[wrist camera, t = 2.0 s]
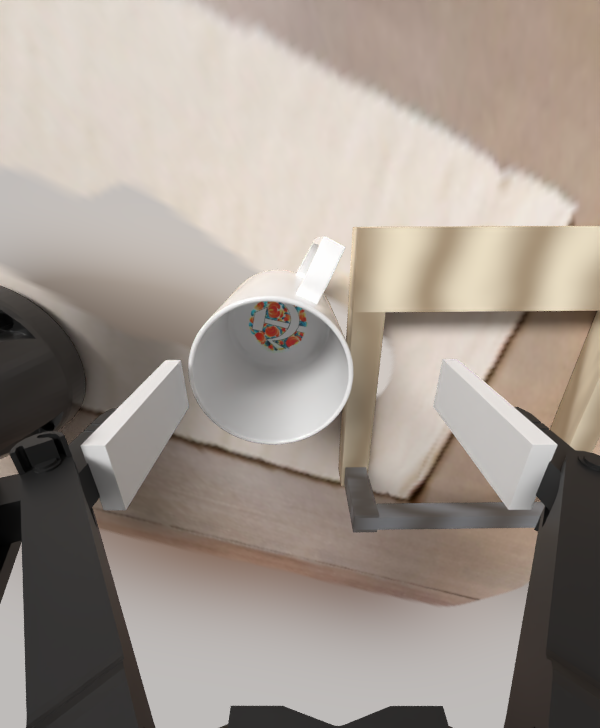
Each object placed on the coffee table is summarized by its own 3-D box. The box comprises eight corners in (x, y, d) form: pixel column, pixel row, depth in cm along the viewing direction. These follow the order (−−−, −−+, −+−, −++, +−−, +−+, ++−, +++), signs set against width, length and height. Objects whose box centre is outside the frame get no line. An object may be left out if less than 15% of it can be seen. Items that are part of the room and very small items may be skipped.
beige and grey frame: (338, 468, 34) (349, 536, 27) (352, 226, 24) (377, 229, 17) (558, 466, 34) (629, 532, 27) (663, 225, 24) (822, 226, 17)
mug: (303, 381, 29) (308, 464, 19) (213, 343, 28) (166, 412, 18) (369, 261, 25) (421, 286, 15) (268, 207, 23) (247, 194, 13)
